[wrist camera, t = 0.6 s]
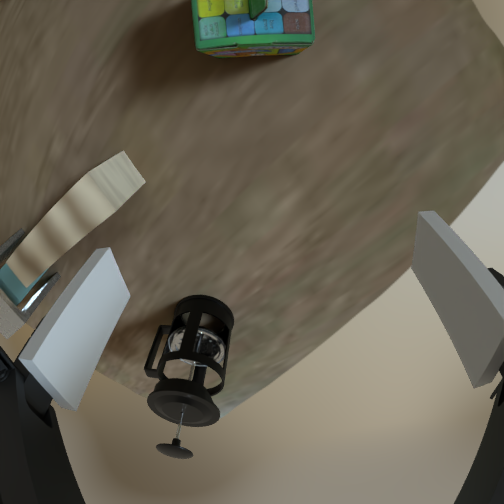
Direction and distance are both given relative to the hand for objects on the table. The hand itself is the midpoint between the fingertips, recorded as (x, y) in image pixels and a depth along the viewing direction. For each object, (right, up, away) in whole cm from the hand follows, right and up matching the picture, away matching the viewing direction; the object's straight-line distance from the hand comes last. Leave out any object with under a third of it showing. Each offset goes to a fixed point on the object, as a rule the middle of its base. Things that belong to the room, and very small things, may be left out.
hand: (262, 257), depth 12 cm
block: (-39, -2, +32) cm, 51 cm away
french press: (-8, -10, +35) cm, 37 cm away
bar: (-24, +6, +26) cm, 36 cm away
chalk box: (0, +25, +14) cm, 28 cm away
